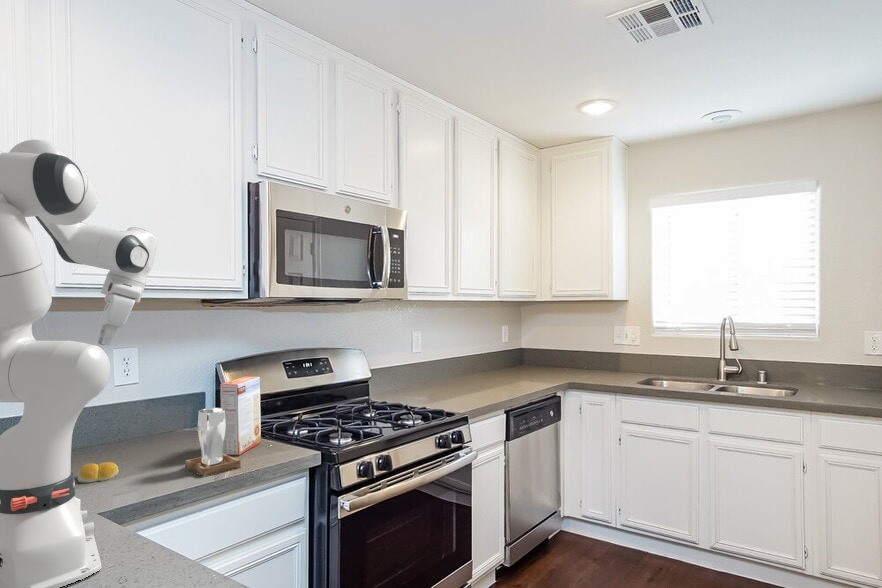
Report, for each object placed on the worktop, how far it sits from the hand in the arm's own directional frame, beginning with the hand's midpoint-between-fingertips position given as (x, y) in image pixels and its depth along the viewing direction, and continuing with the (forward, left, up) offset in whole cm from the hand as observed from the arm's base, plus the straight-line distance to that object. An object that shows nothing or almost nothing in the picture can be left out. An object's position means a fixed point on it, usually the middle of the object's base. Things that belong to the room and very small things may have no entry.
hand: (103, 344), depth 138 cm
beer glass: (-7, -24, -34) cm, 42 cm away
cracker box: (+4, -38, -35) cm, 52 cm away
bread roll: (+7, 0, -35) cm, 36 cm away
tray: (-7, -24, -34) cm, 43 cm away
